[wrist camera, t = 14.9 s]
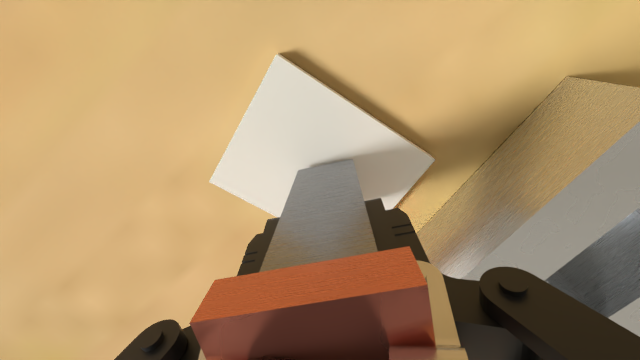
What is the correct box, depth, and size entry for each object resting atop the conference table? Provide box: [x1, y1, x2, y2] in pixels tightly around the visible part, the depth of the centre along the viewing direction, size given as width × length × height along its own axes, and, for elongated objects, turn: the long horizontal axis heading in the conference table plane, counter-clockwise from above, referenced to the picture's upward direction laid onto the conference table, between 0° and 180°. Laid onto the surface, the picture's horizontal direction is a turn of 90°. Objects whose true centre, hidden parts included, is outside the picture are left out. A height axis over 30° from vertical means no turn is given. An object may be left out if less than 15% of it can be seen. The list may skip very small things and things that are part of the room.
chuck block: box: [417, 76, 640, 337], centre depth 16 cm, size 12×12×5 cm
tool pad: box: [209, 53, 435, 217], centre depth 17 cm, size 10×8×1 cm
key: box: [190, 159, 436, 360], centre depth 11 cm, size 4×4×11 cm
